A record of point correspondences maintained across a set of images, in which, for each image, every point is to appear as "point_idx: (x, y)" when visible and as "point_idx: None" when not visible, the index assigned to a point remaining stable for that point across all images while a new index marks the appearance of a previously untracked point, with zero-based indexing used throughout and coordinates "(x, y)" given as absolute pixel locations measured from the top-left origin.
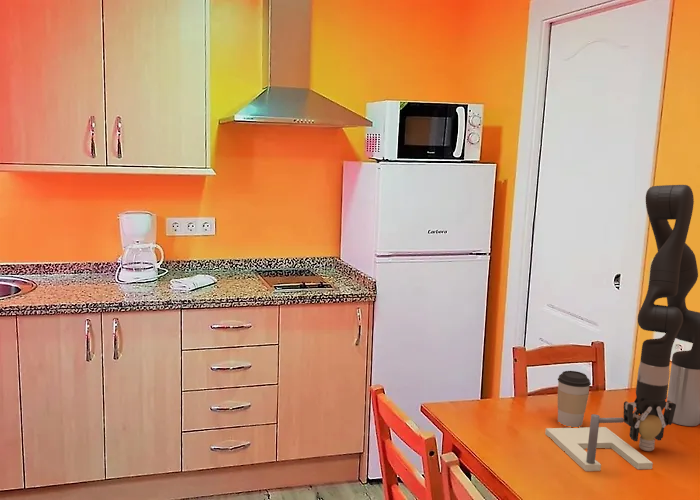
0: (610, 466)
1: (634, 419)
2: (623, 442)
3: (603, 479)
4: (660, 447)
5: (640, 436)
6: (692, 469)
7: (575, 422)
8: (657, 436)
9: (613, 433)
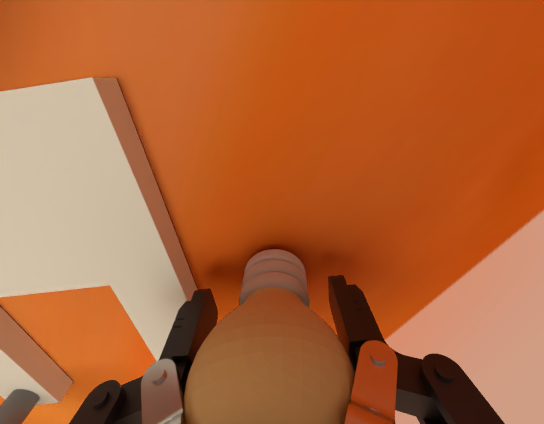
0: (104, 363)
1: (163, 416)
2: (165, 281)
3: (80, 406)
4: (351, 243)
5: (246, 294)
6: None
7: None
8: (332, 307)
9: (134, 187)
